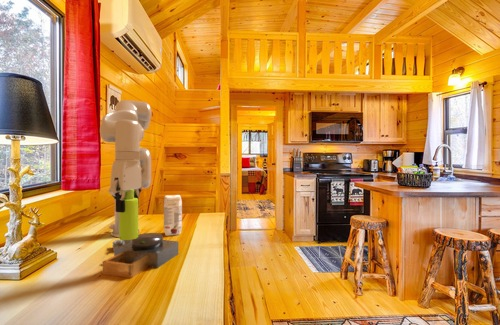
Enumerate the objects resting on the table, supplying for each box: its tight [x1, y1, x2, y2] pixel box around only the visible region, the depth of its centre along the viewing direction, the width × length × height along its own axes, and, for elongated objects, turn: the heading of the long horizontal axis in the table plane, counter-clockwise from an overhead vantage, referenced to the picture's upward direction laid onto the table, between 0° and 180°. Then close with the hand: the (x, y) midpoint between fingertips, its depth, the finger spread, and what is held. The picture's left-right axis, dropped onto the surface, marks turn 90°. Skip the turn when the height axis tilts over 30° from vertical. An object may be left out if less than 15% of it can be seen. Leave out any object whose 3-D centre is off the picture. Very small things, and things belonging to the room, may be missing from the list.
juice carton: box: [163, 194, 183, 237], centre depth 134 cm, size 8×9×19 cm
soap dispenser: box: [118, 189, 139, 240], centre depth 91 cm, size 6×7×20 cm
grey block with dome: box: [102, 232, 179, 279], centre depth 98 cm, size 18×23×8 cm
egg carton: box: [112, 239, 132, 250], centre depth 113 cm, size 11×8×4 cm
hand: (127, 209), depth 91 cm, fingers closed on soap dispenser, 5 cm apart
